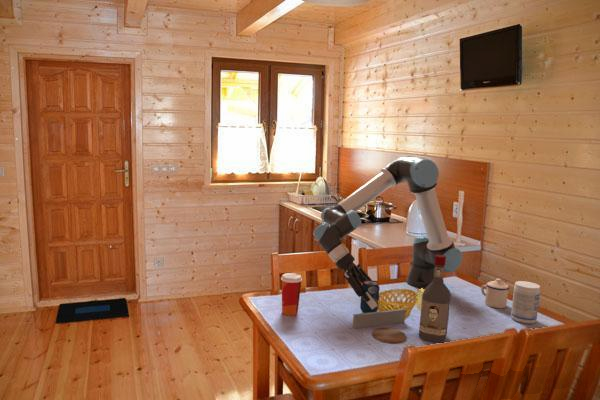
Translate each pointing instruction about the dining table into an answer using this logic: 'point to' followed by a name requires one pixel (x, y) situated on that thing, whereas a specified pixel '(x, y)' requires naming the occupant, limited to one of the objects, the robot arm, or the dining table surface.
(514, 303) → the supplement tub
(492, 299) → the teacup with lid
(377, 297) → the soda can
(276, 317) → the dining table surface
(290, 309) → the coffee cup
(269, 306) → the dining table surface
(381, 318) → the low wall
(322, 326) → the dining table surface
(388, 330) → the walnut coaster
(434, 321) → the liquor
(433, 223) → the robot arm
